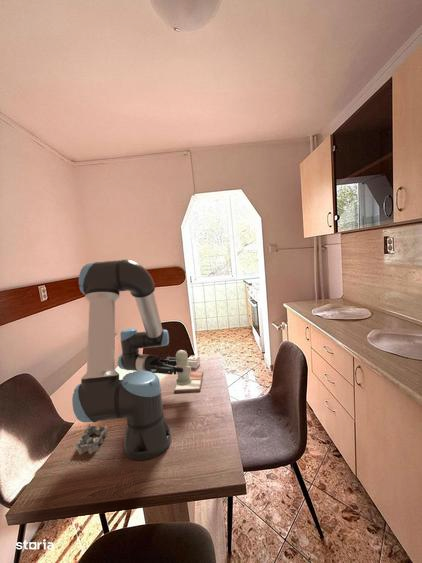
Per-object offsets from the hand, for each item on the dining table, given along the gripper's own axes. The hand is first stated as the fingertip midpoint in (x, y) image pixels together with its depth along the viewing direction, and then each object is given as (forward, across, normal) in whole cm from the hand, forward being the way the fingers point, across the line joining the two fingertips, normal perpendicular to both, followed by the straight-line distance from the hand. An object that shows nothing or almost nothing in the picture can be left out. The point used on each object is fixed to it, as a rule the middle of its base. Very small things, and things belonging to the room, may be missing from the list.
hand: (193, 367), depth 110 cm
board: (-10, -13, -14) cm, 21 cm away
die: (-17, -31, -13) cm, 38 cm away
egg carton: (-23, +34, -15) cm, 44 cm away
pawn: (-5, 0, -7) cm, 9 cm away
